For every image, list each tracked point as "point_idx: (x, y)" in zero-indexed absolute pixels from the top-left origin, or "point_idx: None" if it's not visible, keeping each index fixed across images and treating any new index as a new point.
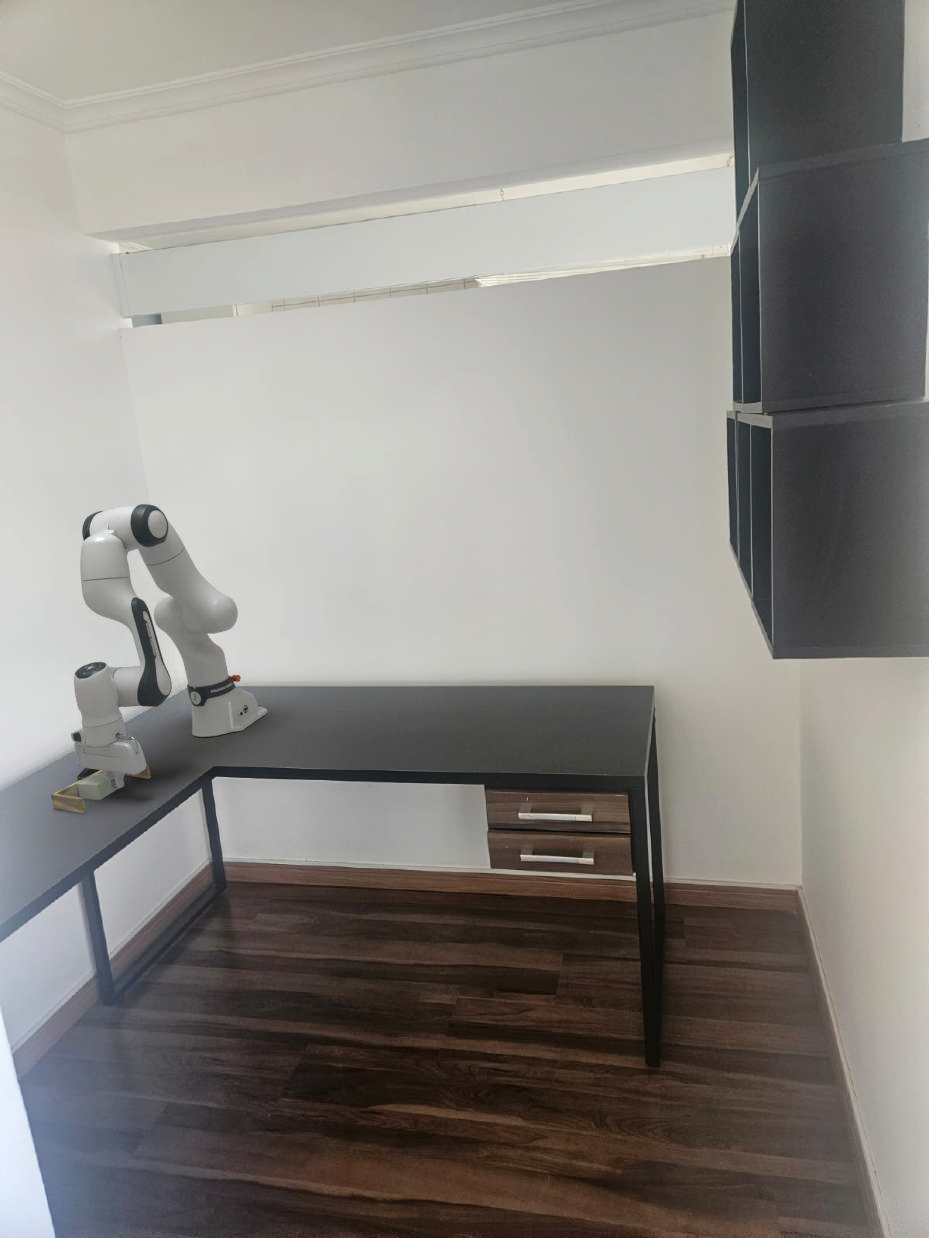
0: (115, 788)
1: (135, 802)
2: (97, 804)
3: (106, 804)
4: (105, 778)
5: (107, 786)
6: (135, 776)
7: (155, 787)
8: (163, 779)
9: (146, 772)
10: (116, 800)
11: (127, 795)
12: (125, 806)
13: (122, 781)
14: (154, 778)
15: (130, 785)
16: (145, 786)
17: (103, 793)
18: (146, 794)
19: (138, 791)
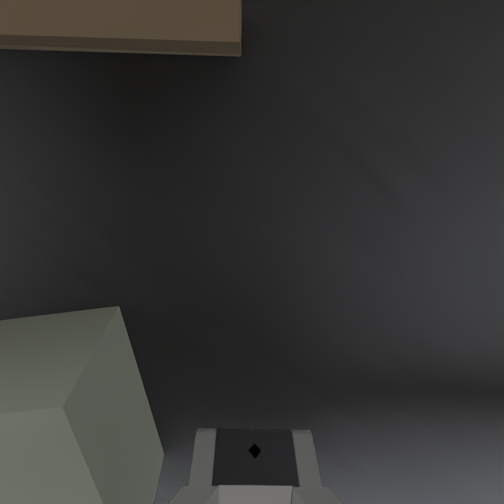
0: (122, 338)
1: (476, 432)
2: None
3: None
4: (72, 494)
5: (126, 441)
6: (24, 49)
7: (478, 214)
8: (444, 28)
9: (226, 51)
10: None
11: (322, 374)
12: (441, 478)
13: (318, 474)
14: (306, 29)
15: (177, 233)
16: (355, 218)
17: (149, 452)
18: (480, 331)
19: (364, 307)
